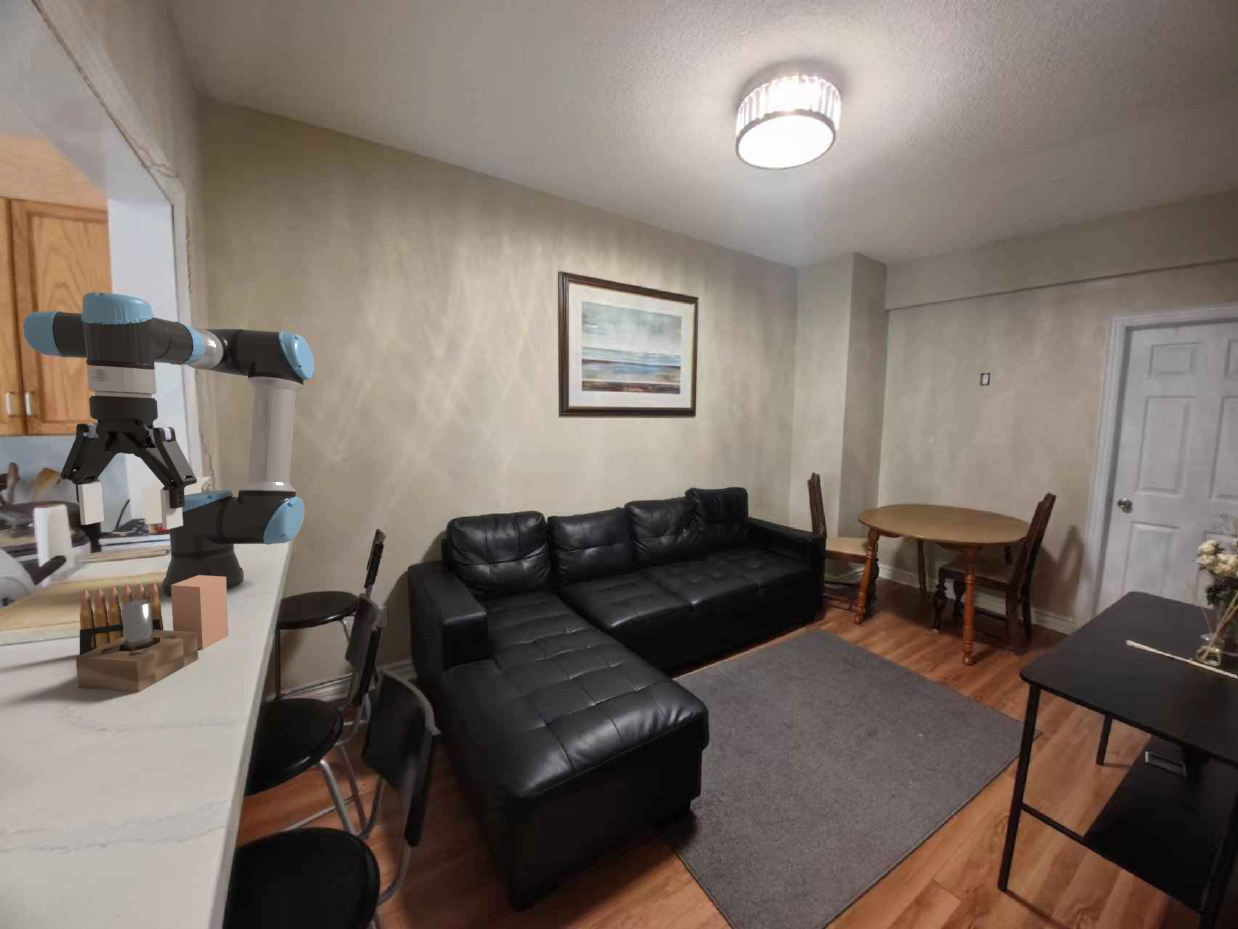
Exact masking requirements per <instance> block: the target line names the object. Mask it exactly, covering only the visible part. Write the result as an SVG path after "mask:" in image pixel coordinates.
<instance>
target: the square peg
mask: <svg viewBox="0 0 1238 929" xmlns="http://www.w3.org/2000/svg"><path fill="white" fill-rule="evenodd" d="M227 590H228V589H227V587H226V577H221V576H205V575H198V576H195V577H192V578H189V579H187V580H184V581H181V582H178V583H176V584H173V585H171V595H170V597H171V611H172V612H171V613H172V614H171V615H172V631H184V632H197V645H198V650H205V649H206V648H208V647H211V646H212V645H214V644H216V643H218V642H220V641H222V640H223V639H225V638H226V637H228V636H229V620H228V619H229V618H228V617H229V615H228V614H229V612H228V592H227ZM217 641H218V642H217Z"/></svg>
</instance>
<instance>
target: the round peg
mask: <svg viewBox="0 0 1238 929" xmlns="http://www.w3.org/2000/svg"><path fill="white" fill-rule="evenodd" d="M132 601H133V602H129V603H126V604H124V605H123V606H122V605H121V616H123V631H124V647H125V651H129V652H131V651H136V650H140V649H145V648H149V647H151V646H153V645H154V640H153V623H152V605H151V600H150V599H146V600H138V601H136V600H132Z"/></svg>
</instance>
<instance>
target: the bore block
mask: <svg viewBox="0 0 1238 929" xmlns="http://www.w3.org/2000/svg"><path fill="white" fill-rule="evenodd" d="M153 640H154V645H153V646H151V647H149V648H145V649H140V650H136V651H131V652H129V651H125V647H124V637H122V638H120V639H118V640H115V641H113V642H111V643H108V644H106V645H104V646H101V647H99V648H97V649H94V650H92V651H90V652H87V653H85V654H83V655H80V654H79V655H78V656H76V657H75V661H76V663H75V664H76V676H77V688H82V689H95V690H109V691H110V690H111V691H122V692H123V691H125V692H134V693H135V692H137V693H140V692H142V691H143V690H145V689H146V688H148V687H150V686H153V685H155V684H156V683H158V682H159V681H161V680H163V679H165V678H167V677H168V676H170V675H172V674H174V673H175V672H177V671H180V670H181V669H183V668H185V667H187V666H188V665H191V664H193V663H194V662H196V661H197V660H199V651H198V650H199V649H198V645H197V632H184V631H173V630H167V629H166V630H165V629H164V630H154V629H153Z"/></svg>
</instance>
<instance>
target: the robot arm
mask: <svg viewBox="0 0 1238 929" xmlns="http://www.w3.org/2000/svg"><path fill="white" fill-rule="evenodd" d="M81 311H82V312H81V313H77V312H65V311H61V310H55V311H50V310H38V311H34V312H31V313H30V314H28V316H26V318H25V319H24V321H23V325H22V329H23V336H24V339H25V341H26V342H27V344H29V346H30V347H31V348H32V349H33V350H35V351H36V352H37V353H39V354H43V355H46V356H52V357H53V356H54V357H60V358H68V359H69V358H75V359H78V358H79V359H85V360H86V372H87V374H86V375H87V386H88V387H87V388H88V390H89V391H90V392H93V393H94V395H90V397H88V403H89V416H90V418H92V419H93V420H97V423H94V422H93V423H87V422H86V423H77V424H76V426H75V427H76V429H75V439H74V441H73V443H72V446H71V448H70V451H69V453H68V456H67V458H66V460H65V463H64V466H62V467H63V468H62V469H61V472H60V478H61V479H62V480H68V481H71V482H72V484H74V486H75V494H76V496H75V497H76V501H77V503H78V505H79V516H80V525H81V526H82V525H83V526H85V525H87V526H88V525H91V524H96V523H101V522H105V516H104V514H105V513H104V502H103V501H104V500H103V491H102V490H103V488H102V482H100V481H101V479H99V477H100V476H101V474H102V473H103V472H104V471H105V469H106V468H107V467H108V465H109V464H110V463H111V462H112V460H113V459H114V458H115V456H116V455H118V454H125V455H134V456H135V457H137V458H139V459H140V460H141V461H142V462H143V463H144V464H145V465H146V467H147V468H148V469H149V470H150V471H151V472H152V473H153V475H154V476H155V477H156V479H158V480H159V481H160V483H161V484H162V485H163V487H162V488H161V489H160V490H159V491H160V492H159V493H160V506H161V507H160V508H161V522H162V523H161V524H162V530H169V541H170V562H169V564H168V567H167V569H166V573H165V578H163V580H162V584H161V586H162V588H161V589H162V593H163V594H164V595H166V596H171V585H173V584H176V583H178V582H181V581H184V580H187V579H189V578H192V577H195V576H198V575H205V576H221V577H226V587H227V590H228V589H231V588H233V587H236V586H238V585H240V584H241V583H243V582H244V580H245V576H244V574H245V572H244V569H243V568H242V567H241V565H240V563H239V559H238V557H237V554H236V553H235V545H269V546H270V545H274V544H275V545H276V544H286V543H289V542H291V541H292V540H293V539H295V537H296V536H297V534H298V533H299V532H300V530H301V528H302V525H303V523H304V518H305V511H306V510H305V503H304V500H303V499H302V498H301V497H298V496H297V490H296V489H295V488H294V487H293V486H292V485H291V482H290V481H291V468H292V467H291V466H292V454H293V453H292V450H293V438H294V425H295V424H294V422H295V412H296V411H295V410H296V409H295V408H296V396H297V392H299V391H301V390H302V389H303V388H304V381H308V380H311V379H312V378H313V375H314V374H315V360H314V355H313V353H312V350H311V347H310V345H309V342H307V341H306V339H305V338H304V337H303V336H301V335H300V334H297V333H291V332H284V331H268V330H267V331H266V330H255V329H242V328H199V327H192V326H189V325H187V324H184V323H181V322H179V321H171V320H168V319H164V318H159V317H154V315H153V310H152V307H151V305H150V303H149V301H147V300H145V299H143V298H139V297H136V296H129V295H125V294H120V293H113V292H112V293H110V292H102V291H101V292H100V291H94V292H87V293H85V294H84V295H83V296H82V306H81ZM155 363H159V364H160V363H162V364H170V365H178V366H181V365H182V366H184V365H185V366H188V367H190V368H193V369H196V370H202V371H203V370H204V371H212V372H217V373H223V374H229V375H235V376H244V377H247V382H248V383H249V384H250V385H251V386H252V387H253V388H254V390H253V391H254V392H253V393H254V394H253V405H252V415H251V416H252V417H251V427H250V428H251V429H250V430H251V431H250V442H249V443H250V444H249V445H250V446H249V454H248V456H249V458H248V466H247V467H248V469H247V470H248V471H247V481H246V483H245V484H244V485H243V486H241V487H239V489H238V496H233V495H234V494H233V492H232V491H231V490H230V489H228V490H227V489H219V490H218V489H217V490H212V491H203V492H196V493H189V494H185V488H186V487H187V486H191V485H193V484H194V485H195V484H197V483H198V482H197V481H198V480H197V477H196V475H195V473H194V471H193V470H192V468H191V466H190V463H189V461H188V460H187V458H186V456H185V454H184V452H183V451H182V449H181V447H180V444H179V443H178V441H177V437H176V431H175V428H174V427H172V426H167V427H166V426H163V427H162V426H160V427H155V426H154V421H156V420H157V419H158V417H159V415H158V414H159V413H158V400H157V399H156V397H153V395H156V394H157V392H158V391H157V380H156V369H155V368H156V367H155Z"/></svg>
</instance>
